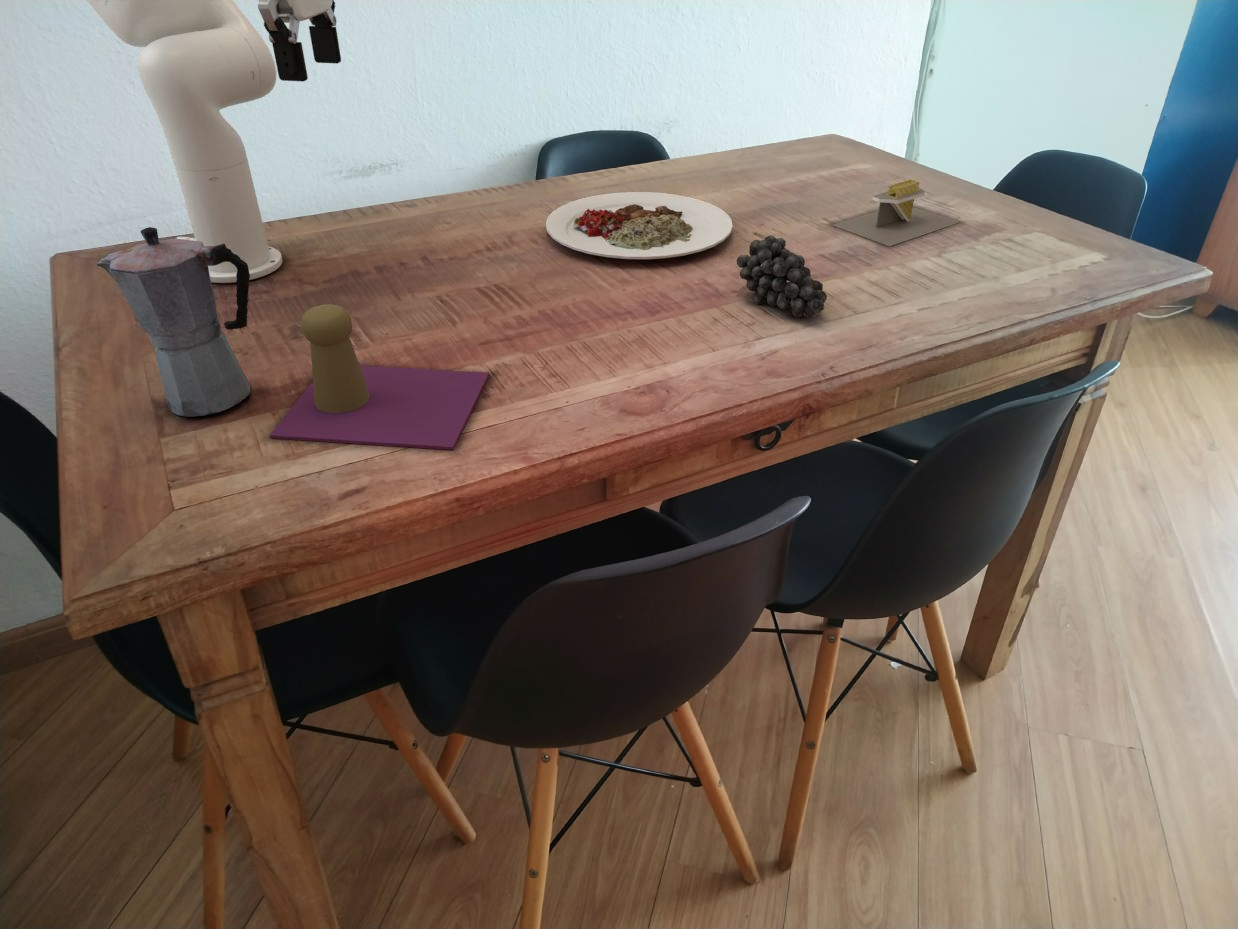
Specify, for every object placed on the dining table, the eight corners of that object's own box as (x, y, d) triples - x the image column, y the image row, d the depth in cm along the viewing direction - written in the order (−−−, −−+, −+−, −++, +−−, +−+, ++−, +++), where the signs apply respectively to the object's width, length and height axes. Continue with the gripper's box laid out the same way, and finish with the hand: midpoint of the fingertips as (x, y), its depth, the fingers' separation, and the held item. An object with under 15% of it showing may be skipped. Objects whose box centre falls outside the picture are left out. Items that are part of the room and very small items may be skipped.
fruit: (842, 258, 111) (770, 219, 122) (789, 290, 110) (721, 248, 120) (849, 313, 117) (779, 271, 128) (799, 344, 116) (733, 299, 126)
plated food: (759, 258, 135) (761, 236, 133) (566, 277, 129) (565, 255, 127) (697, 196, 159) (698, 177, 157) (532, 210, 153) (531, 191, 151)
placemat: (270, 438, 94) (269, 435, 94) (327, 366, 108) (327, 363, 107) (453, 450, 93) (452, 446, 92) (489, 375, 106) (489, 372, 105)
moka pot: (158, 380, 105) (102, 214, 93) (292, 374, 106) (252, 209, 94) (129, 423, 97) (63, 247, 86) (273, 416, 98) (227, 242, 87)
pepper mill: (355, 415, 97) (337, 324, 91) (304, 410, 98) (283, 319, 92) (378, 388, 102) (362, 300, 96) (330, 383, 103) (310, 295, 97)
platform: (959, 222, 148) (968, 182, 144) (889, 246, 139) (896, 204, 135) (901, 203, 156) (908, 165, 152) (831, 224, 147) (837, 185, 143)
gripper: (283, -106, 102) (311, 55, 112) (207, -97, 88) (247, 86, 98) (346, -105, 101) (368, 57, 111) (278, -95, 87) (311, 89, 97)
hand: (311, 71), depth 105 cm, fingers open, 9 cm apart
